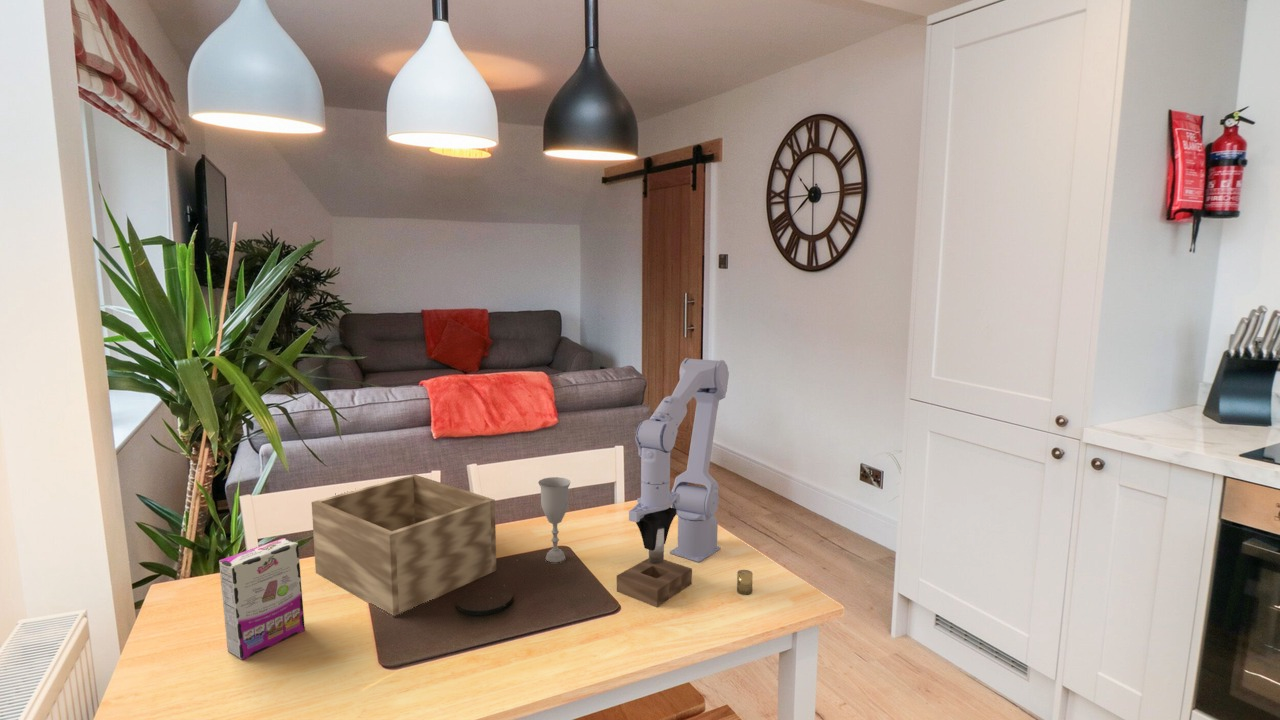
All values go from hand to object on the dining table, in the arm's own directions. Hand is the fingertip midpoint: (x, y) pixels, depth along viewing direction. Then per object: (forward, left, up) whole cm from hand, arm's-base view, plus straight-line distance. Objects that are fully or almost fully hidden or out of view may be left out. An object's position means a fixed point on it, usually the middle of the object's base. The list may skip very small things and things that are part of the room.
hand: (654, 546), depth 134 cm
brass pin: (-10, +15, -9) cm, 20 cm away
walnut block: (0, 0, -9) cm, 9 cm away
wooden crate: (+27, -45, -9) cm, 53 cm away
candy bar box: (+57, -41, -9) cm, 71 cm away
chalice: (+3, -25, -9) cm, 27 cm away
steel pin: (0, 0, -3) cm, 3 cm away
